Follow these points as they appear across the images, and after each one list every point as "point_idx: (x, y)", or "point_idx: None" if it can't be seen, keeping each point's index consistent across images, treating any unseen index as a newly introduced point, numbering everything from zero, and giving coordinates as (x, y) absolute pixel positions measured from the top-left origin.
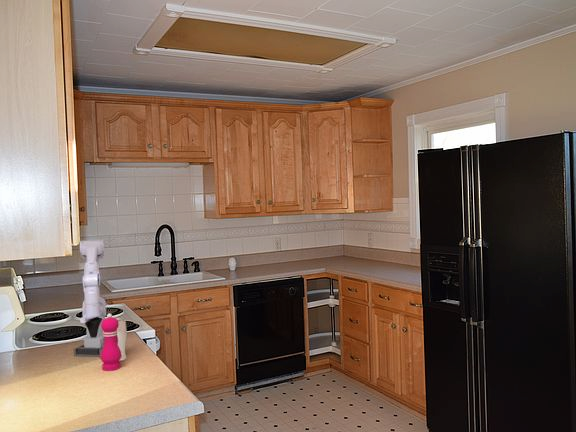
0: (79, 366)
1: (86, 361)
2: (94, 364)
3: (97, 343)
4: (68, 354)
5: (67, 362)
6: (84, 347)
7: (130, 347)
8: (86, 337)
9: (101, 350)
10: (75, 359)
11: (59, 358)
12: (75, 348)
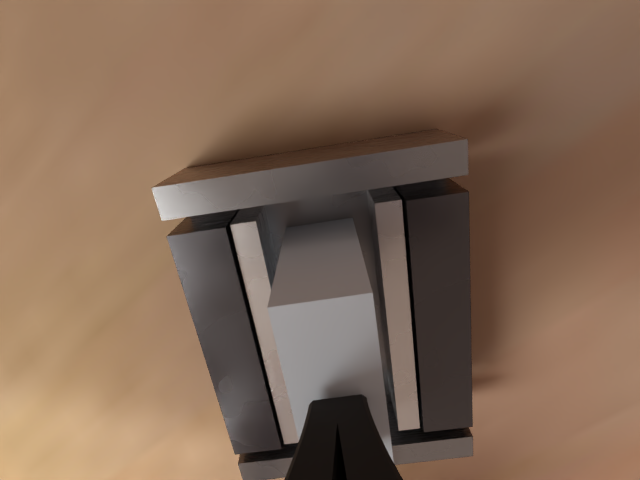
0: (5, 413)
1: (119, 384)
2: (95, 474)
3: None
4: (213, 43)
5: (15, 253)
6: (260, 268)
7: (544, 463)
8: (319, 315)
9: (245, 472)
10: (115, 260)
11: (55, 57)
12: (165, 207)
